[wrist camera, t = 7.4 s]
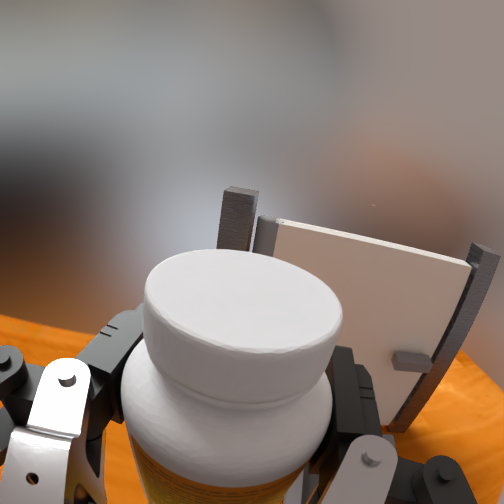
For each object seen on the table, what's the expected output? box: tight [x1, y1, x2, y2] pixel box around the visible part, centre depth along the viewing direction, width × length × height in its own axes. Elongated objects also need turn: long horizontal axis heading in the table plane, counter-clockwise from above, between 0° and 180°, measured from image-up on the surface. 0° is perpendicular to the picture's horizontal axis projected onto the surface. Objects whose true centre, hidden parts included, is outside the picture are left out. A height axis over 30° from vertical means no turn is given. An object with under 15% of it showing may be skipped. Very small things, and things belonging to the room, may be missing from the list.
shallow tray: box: [282, 434, 397, 504], centre depth 17 cm, size 9×9×1 cm
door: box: [252, 215, 472, 426], centre depth 20 cm, size 15×3×16 cm, turn 81°
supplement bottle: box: [121, 249, 343, 504], centre depth 8 cm, size 5×5×10 cm
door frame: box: [216, 186, 500, 432], centre depth 21 cm, size 19×2×18 cm, turn 81°
